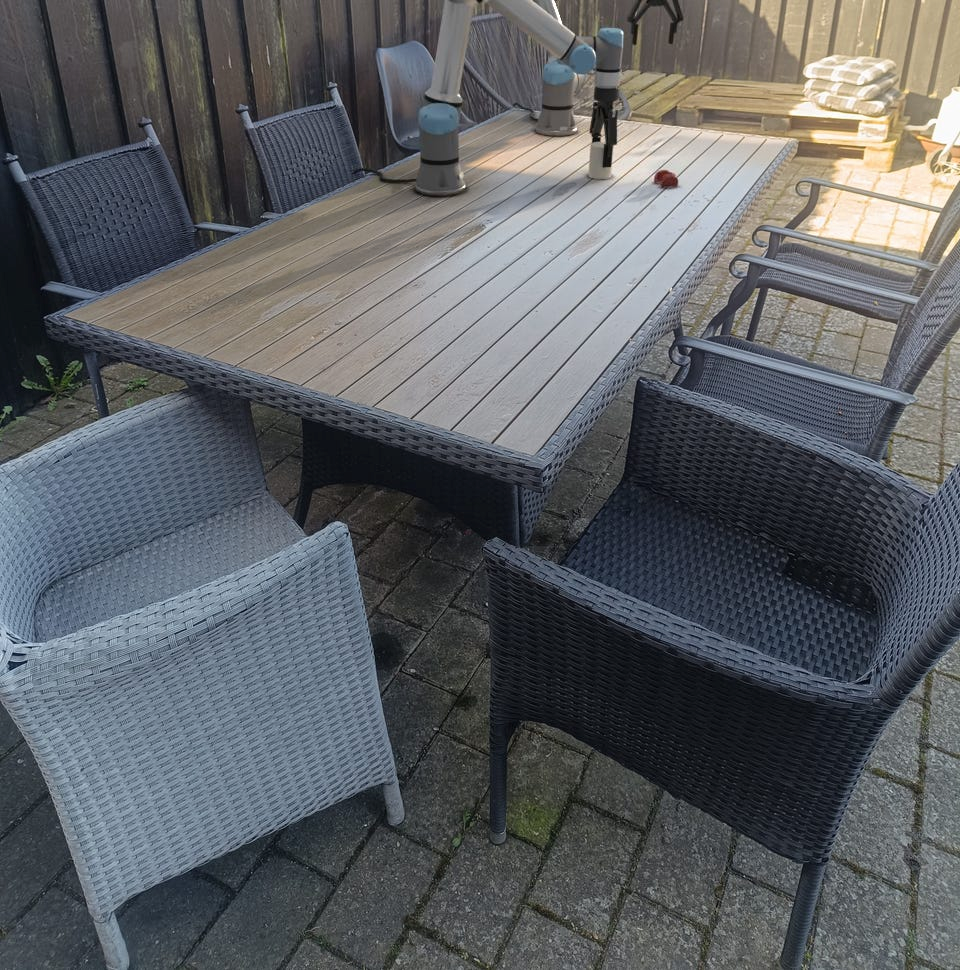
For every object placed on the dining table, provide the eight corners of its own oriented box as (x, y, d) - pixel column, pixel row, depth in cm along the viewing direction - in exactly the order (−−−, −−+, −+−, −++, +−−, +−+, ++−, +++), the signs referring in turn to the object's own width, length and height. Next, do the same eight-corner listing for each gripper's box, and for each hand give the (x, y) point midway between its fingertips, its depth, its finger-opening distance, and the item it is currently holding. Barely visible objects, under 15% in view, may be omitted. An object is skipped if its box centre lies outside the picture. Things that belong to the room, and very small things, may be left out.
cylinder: (595, 180, 267) (597, 148, 261) (584, 174, 272) (586, 142, 266) (615, 177, 269) (618, 146, 263) (604, 172, 274) (606, 140, 269)
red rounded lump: (669, 166, 264) (680, 173, 258) (668, 179, 266) (679, 187, 260) (653, 168, 263) (663, 175, 257) (652, 181, 265) (662, 189, 259)
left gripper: (633, 92, 247) (625, 171, 260) (604, 78, 264) (598, 153, 277) (609, 94, 246) (603, 173, 259) (582, 80, 263) (577, 155, 276)
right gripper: (628, -24, 286) (622, 46, 298) (698, -25, 289) (689, 44, 301) (621, -26, 292) (615, 43, 304) (690, -27, 295) (681, 41, 308)
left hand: (600, 162), depth 268 cm, fingers open, 9 cm apart
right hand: (652, 44), depth 303 cm, fingers open, 13 cm apart
